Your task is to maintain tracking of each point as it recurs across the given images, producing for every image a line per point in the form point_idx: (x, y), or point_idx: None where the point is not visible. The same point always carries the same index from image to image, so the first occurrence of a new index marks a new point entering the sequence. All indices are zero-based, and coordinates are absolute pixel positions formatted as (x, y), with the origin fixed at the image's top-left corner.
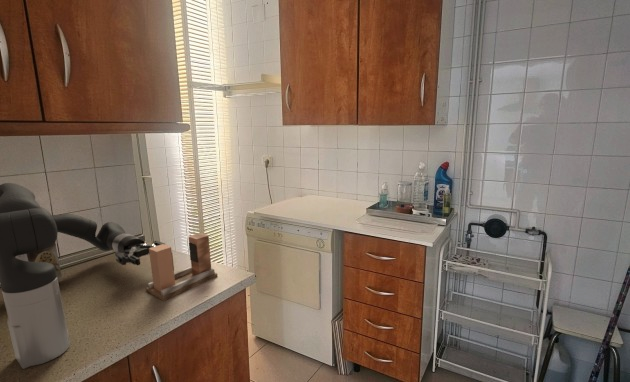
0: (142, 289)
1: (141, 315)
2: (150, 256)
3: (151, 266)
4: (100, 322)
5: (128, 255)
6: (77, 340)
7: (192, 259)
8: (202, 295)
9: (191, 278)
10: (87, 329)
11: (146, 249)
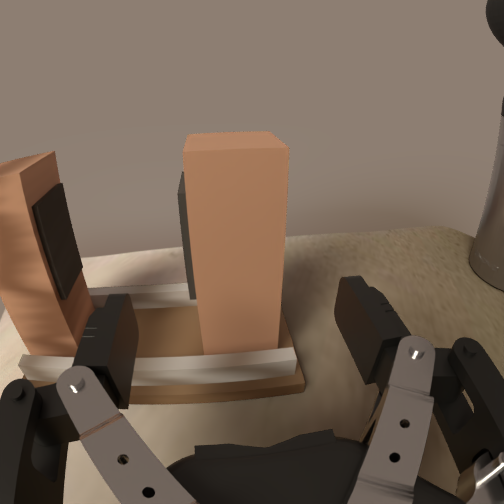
0: (314, 416)
1: (345, 274)
2: (284, 197)
3: (282, 259)
4: (440, 299)
5: (430, 356)
6: (463, 272)
7: (70, 281)
8: (176, 261)
9: (145, 288)
10: (459, 291)
11: (210, 448)
